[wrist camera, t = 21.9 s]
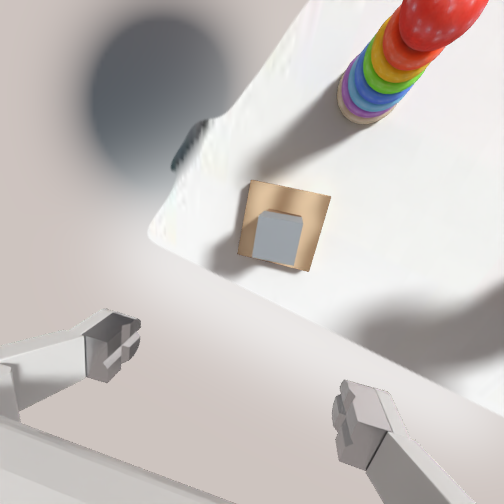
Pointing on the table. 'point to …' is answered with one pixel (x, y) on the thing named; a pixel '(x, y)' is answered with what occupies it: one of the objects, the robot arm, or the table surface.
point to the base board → (288, 201)
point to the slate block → (277, 237)
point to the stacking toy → (401, 55)
